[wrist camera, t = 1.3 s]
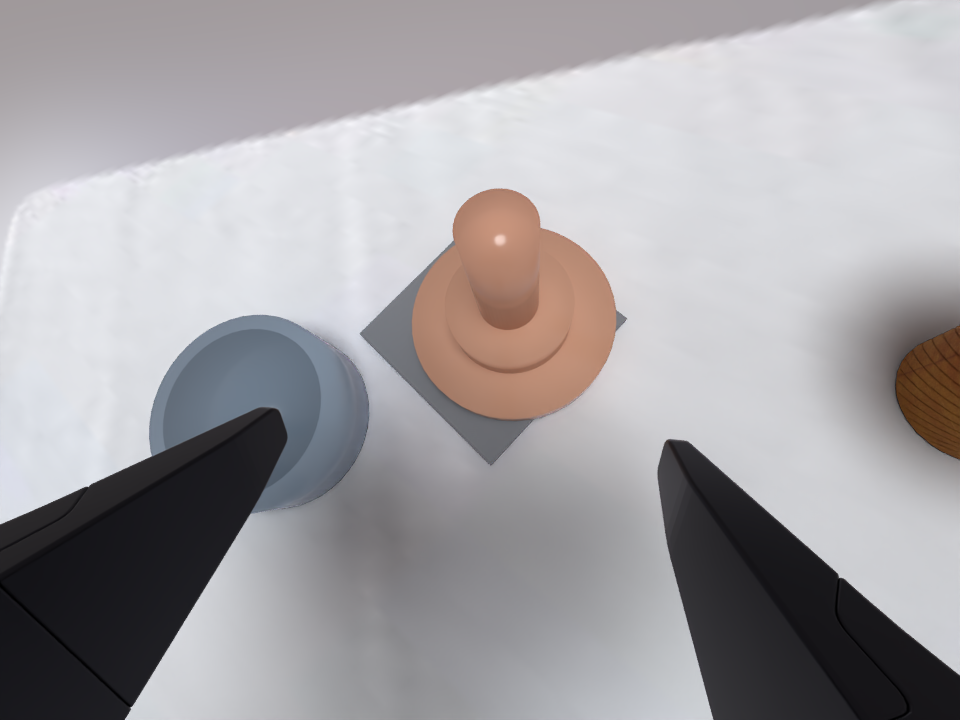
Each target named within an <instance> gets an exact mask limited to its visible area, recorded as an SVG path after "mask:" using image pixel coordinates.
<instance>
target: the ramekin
mask: <svg viewBox="0 0 960 720" xmlns="http://www.w3.org/2000/svg"><path fill="white" fill-rule="evenodd" d="M258 407H273V408H277V409H278V410H279V411H280V413H281V416H282V419H283V422H284V425H285V427H286V430H287V434H288V439H287V443H286V445H285V447H284V449H283V452H282V454H281V456H280V458H279V460H278V462H277V464H276V466H275V468H274V470H273V472H272V474H271V476H270V478H269V481H268V483H267V485H266V487H265V489H264V491H263V493H262V495H261V496H260V498H259V500H258V502H257V504H256V505H255V507H254V509H253V510H252V512H251V513H258V512H264V511H271V510H277V509H283V508H290V507H294V506H298V505H302V504H304V503H307V502H310V501H312V500H314V499H316V498H318V497H320V496H321V495H323V494H324V493H326V492H327V491H328V490H330V489H331V488H332V487H333V486H335V485H336V484H337V483H338V482H339V481H340V480H341V479H342V478H343V476H344V475H345V474H346V473H347V472H348V471H349V469H350V468H351V466H352V465H353V463H354V462H355V460H356V458H357V456H358V454H359V452H360V450H361V447H362V445H363V442H364V439H365V436H366V431H367V427H368V419H369V403H368V396H367V391H366V388H365V384H364V382H363V379H362V377H361V375H360V373H359V371H358V370H357V368H356V366H355V365H354V364H353V363H352V361H351V360H350V359H349V358H348V357H347V356H346V355H345V354H344V353H342V352H341V351H340V350H338V349H337V348H335V347H334V346H332V345H330V344H329V343H327V342H325V341H324V340H322V339H320V338H319V337H317V336H316V335H314V334H312V333H311V332H309V331H307V330H306V329H304V328H302V327H301V326H299V325H297V324H295V323H293V322H291V321H289V320H286V319H283V318H279V317H276V316H268V315H251V316H243V317H239V318H235V319H231V320H229V321H226V322H223V323H221V324H219V325H217V326H215V327H213V328H211V329H209V330H208V331H206V332H205V333H203V334H202V335H200V336H199V337H198V338H196V339H195V340H194V341H193V342H192V343H191V344H189V345H188V346H187V347H186V348H185V349H184V351H183V352H182V353H181V354H180V355H179V356H178V357H177V359H176V360H175V361H174V362H173V364H172V365H171V367H170V368H169V370H168V371H167V373H166V375H165V376H164V378H163V380H162V382H161V384H160V386H159V389H158V392H157V394H156V397H155V400H154V404H153V408H152V411H151V418H150V426H149V440H150V449H151V454H152V456H154V455H156V454H158V453H160V452H163V451H165V450H167V449H169V448H171V447H173V446H176V445H178V444H180V443H182V442H184V441H186V440H189V439H191V438H193V437H195V436H197V435H200V434H202V433H204V432H206V431H208V430H210V429H213V428H215V427H217V426H219V425H221V424H223V423H226V422H228V421H230V420H232V419H234V418H236V417H239V416H241V415H243V414H245V413H247V412H250V411H252V410H254V409H256V408H258Z"/></svg>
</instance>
